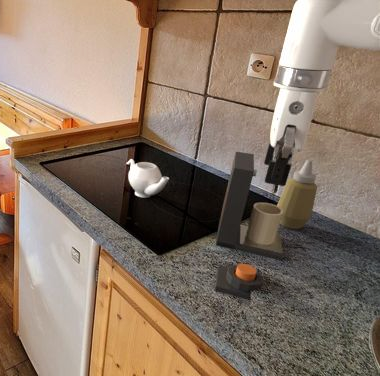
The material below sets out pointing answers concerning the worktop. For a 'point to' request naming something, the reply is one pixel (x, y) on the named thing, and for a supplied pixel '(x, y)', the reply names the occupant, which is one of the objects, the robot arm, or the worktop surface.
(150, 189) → the teapot
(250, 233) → the cup
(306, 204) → the squeeze bottle
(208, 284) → the worktop surface
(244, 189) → the coffee maker
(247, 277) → the button
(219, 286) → the dark grey button base
